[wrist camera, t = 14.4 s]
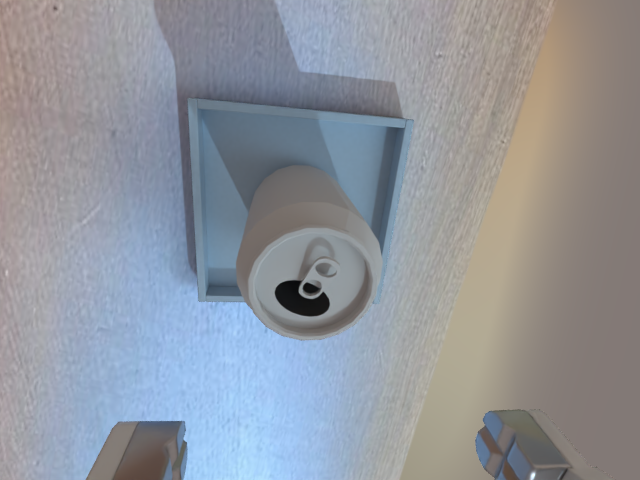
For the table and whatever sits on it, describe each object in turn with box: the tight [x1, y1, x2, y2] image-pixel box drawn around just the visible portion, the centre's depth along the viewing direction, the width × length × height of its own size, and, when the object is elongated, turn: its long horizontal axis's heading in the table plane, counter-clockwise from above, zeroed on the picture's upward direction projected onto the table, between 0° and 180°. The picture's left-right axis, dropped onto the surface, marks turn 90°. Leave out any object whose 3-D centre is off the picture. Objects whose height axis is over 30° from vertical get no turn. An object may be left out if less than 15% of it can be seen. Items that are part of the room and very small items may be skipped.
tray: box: [187, 98, 414, 304], centre depth 26 cm, size 15×15×2 cm
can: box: [236, 165, 383, 340], centre depth 21 cm, size 8×8×12 cm
